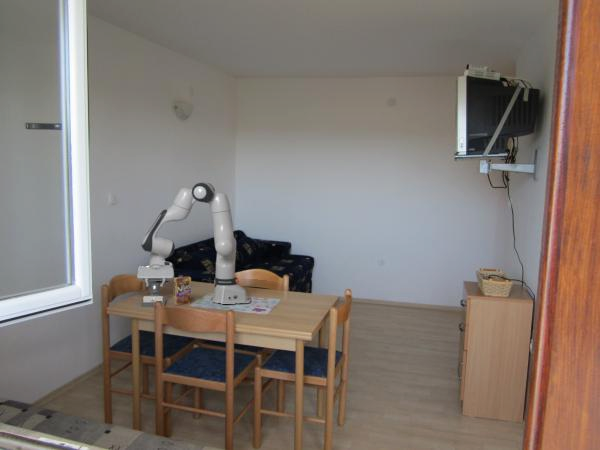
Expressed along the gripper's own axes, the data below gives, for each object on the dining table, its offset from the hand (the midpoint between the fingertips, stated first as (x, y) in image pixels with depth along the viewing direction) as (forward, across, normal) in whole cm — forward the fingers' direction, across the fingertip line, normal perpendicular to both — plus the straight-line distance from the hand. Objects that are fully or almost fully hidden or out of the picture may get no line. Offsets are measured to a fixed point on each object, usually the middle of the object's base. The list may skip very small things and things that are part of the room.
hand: (154, 286), depth 257 cm
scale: (+7, 0, +6) cm, 10 cm away
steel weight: (+4, 0, +5) cm, 6 cm away
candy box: (+8, +15, +6) cm, 18 cm away
